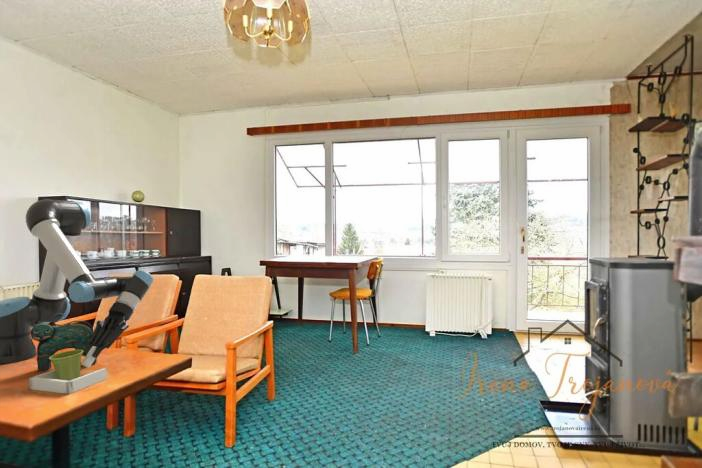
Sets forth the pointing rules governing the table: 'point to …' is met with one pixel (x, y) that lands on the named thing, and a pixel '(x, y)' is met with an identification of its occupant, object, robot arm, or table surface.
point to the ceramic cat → (59, 340)
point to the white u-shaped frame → (65, 382)
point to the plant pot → (67, 364)
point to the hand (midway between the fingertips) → (85, 365)
